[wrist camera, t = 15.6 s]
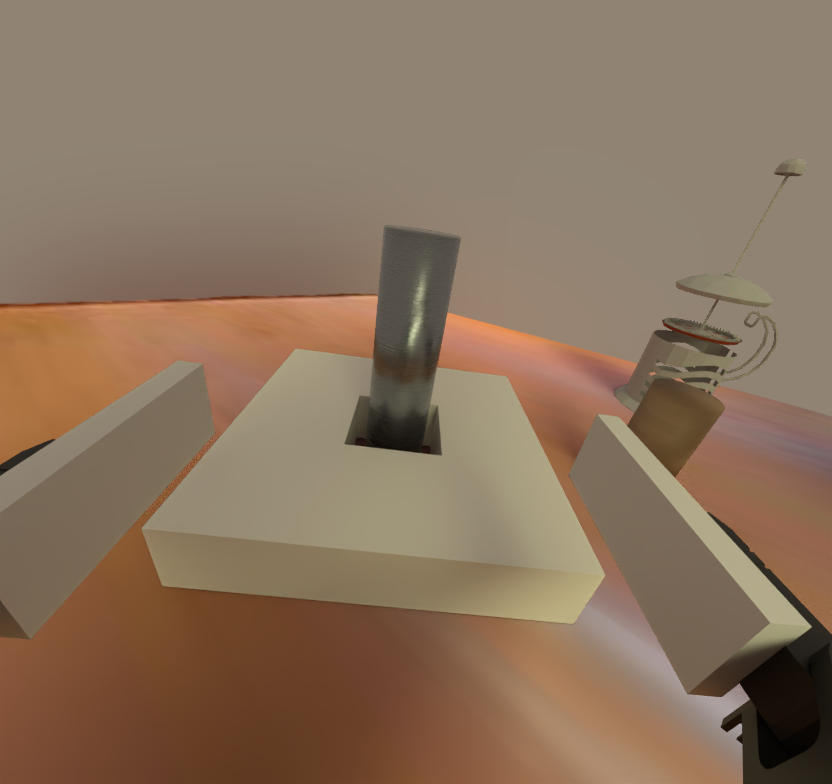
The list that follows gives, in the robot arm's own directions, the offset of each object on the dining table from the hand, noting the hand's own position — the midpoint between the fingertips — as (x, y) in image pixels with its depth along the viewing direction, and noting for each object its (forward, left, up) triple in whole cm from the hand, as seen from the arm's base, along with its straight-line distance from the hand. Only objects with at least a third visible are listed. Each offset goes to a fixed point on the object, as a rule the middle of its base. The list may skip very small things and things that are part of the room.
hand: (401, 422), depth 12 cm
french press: (-32, -26, -11) cm, 42 cm away
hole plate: (0, -10, -11) cm, 14 cm away
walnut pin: (-18, -10, -11) cm, 23 cm away
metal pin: (0, -10, -11) cm, 14 cm away
